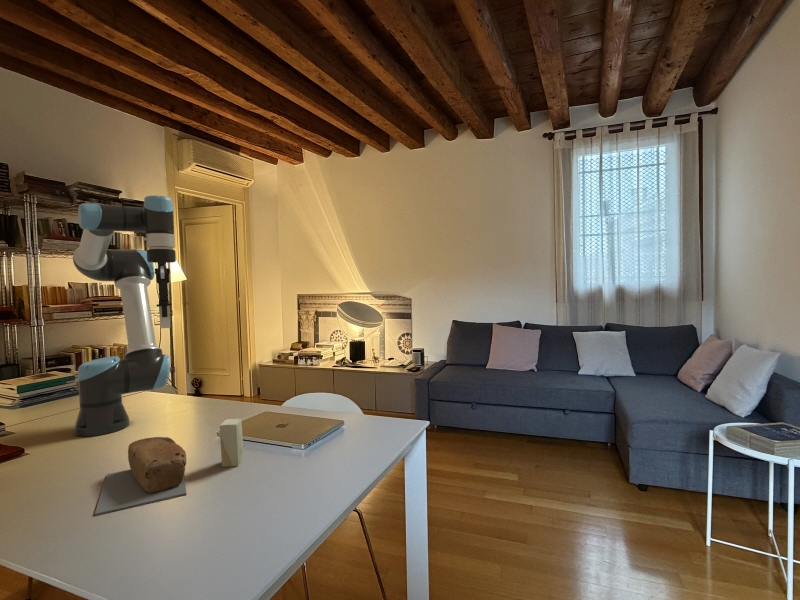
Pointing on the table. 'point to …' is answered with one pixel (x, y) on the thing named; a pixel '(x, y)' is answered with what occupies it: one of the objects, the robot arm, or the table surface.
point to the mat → (131, 493)
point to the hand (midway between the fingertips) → (165, 327)
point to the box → (231, 442)
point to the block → (157, 463)
